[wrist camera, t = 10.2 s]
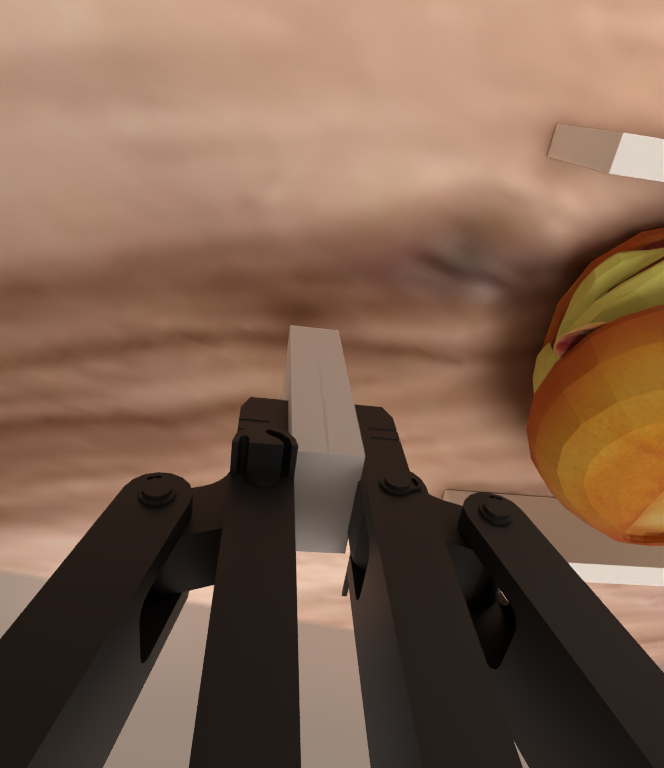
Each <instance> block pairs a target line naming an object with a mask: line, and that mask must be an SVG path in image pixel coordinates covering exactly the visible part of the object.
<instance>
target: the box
mask: <svg viewBox="0 0 664 768" xmlns="http://www.w3.org/2000/svg"><path fill="white" fill-rule="evenodd" d="M547 157H550V158H554V159H557V160H561V161H565V162H568V163H572V164H576V165H580V166H583V167H587V168H591V169H594V170H598V171H602V172H605V173H609V174H615V175H622V176H628V177H635V178H641V179H648V180H654V181H661V182H664V139H660V138H654V137H648V136H642V135H636V134H630V133H624V132H617V131H609V130H602V129H595V128H587V127H580V126H573V125H565V124H558V123H557V125H556V129H555V132H554V135H553V138H552V142H551V145H550V148H549V152H548V155H547ZM474 493H478V492H469V491H455V490H445V492H444V496H443V499H442V500H444V501H448V502H451V503H455V504H458V505H462V506H463V503H464V500H465V499H466V498H467V497H468V496H469V495H471V494H474ZM493 494H496V493H493ZM496 495H500V496H503V497H504V498H506V499H508V500H510V501H512V502H513V503H515V504H516V505H517V506H518V507H519V508H520V509H522V511H523V512H524V513H525V514H526V515H527V516H528V517H529V519H530V520H531V521H532V522H533V523H534V524H535V526H536V527H537V528H538V529H539V530H540V531H541V532H542V534H543V535H544V536H545V537H546V538H547V539H548V540H549V542H550V543H551V544H552V545H553V546H554V547H555V548H556V550H557V551H558V552H559V553H560V554H561V555H562V557H563V558H564V559H565V560H566V561H567V562H568V563H569V565H570V566H571V567H572V568H573V569H574V570H575V571H576V573H577V574H578V575H579V576H580V577H581V578H582V580H583V581H584V582H595V583H614V584H632V585H651V586H664V546H645V545H636V544H629V543H623V542H617V541H615V540H613V539H611V538H609V537H608V536H606V535H605V534H603V533H602V532H600V531H598V530H597V529H595V528H593V527H591V526H590V525H588V524H586V523H585V522H583V521H582V520H581V519H579V518H578V517H576V516H575V515H574V514H572V513H571V512H570V511H568V510H567V509H566V508H564V506H563V505H562V504H561V503H560V502H559V501H558V499H557V498H551V497H537V496H523V495H510V494H496Z"/></svg>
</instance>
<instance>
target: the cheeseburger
mask: <svg viewBox="0 0 664 768" xmlns="http://www.w3.org/2000/svg"><path fill="white" fill-rule="evenodd" d="M533 389H534V397H533V401H532V406H531V410H530V415H529V419H528V424H527V435H528V442H529V448H530V454H531V459H532V461H533V463H534V465H535V466H536V468H537V470H538V472H539V474H540V475H541V477H542V479H543V480H544V482H545V483H546V485H547V486H548V488H549V489H550V491H551V493H552V494H553V495H554V496H555V497H556V498H557V499H558V501H559V502H560V503H561V504H562V505H563V506H564V508H566V509H567V510H568V511H570V512H571V513H572V514H574V515H575V516H576V517H578V518H579V519H581V520H582V521H583V522H585V523H586V524H588V525H590V526H591V527H593V528H595V529H597V530H598V531H600V532H602V533H603V534H605V535H606V536H608V537H609V538H611V539H613V540H615V541H617V542H623V543H629V544H636V545H645V546H664V228H659V229H654V230H648V231H643V232H640V233H639V234H637V235H635V236H634V237H632V238H630V239H629V240H627V241H625V242H623V243H622V244H620V245H618V246H617V247H615V248H613V249H612V250H610V251H608V252H607V253H605V254H603V255H601V256H600V257H598V258H596V259H595V260H593V261H591V263H590V264H589V265H588V266H587V268H586V269H585V270H584V271H583V272H582V274H581V275H580V276H579V277H578V279H577V280H576V281H575V282H574V284H573V285H572V286H571V287H570V288H569V290H568V291H567V292H566V293H565V295H564V296H563V297H562V298H561V300H560V301H559V302H558V304H557V307H556V310H555V312H554V315H553V318H552V321H551V324H550V326H549V329H548V332H547V335H546V337H545V340H544V343H543V349H542V350H541V351H540V353H539V354H538V355H537V359H536V364H535V369H534V374H533Z"/></svg>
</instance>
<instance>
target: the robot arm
mask: <svg viewBox="0 0 664 768" xmlns="http://www.w3.org/2000/svg"><path fill="white" fill-rule="evenodd" d="M348 537H349V545H350V557H349V562H348V566H347V571H346V576H345V580H344V585H343V591H342V596H347V593H348V588H349V592H350V600H351V609H352V617H353V625H354V633H355V642H356V649H357V657H358V666H359V675H360V683H361V691H362V699H363V708H364V716H365V724H366V732H367V740H368V749H369V757H370V765H371V768H523V767H522V764H521V761H520V758H519V755H518V752H517V749H516V747H515V744H514V742H515V743H516V745H517V747H518V749H519V751H520V752H521V754H522V756H523V758H524V759H525V761H526V763H527V765H528V766H529V768H664V673H663V672H662V670H660V668H659V667H658V666H657V665H656V663H655V662H654V661H653V660H652V659H651V658H650V657H649V655H648V654H647V653H646V652H645V651H644V650H643V649H642V647H641V646H640V645H639V644H638V643H637V642H636V640H635V639H634V638H633V637H632V636H631V635H630V634H629V632H628V631H627V630H626V629H625V628H624V627H623V626H622V624H621V623H620V622H619V621H618V620H617V619H616V617H615V616H614V615H613V614H612V613H611V612H610V611H609V609H608V608H607V607H606V606H605V605H604V604H603V603H602V601H601V600H600V599H599V598H598V597H597V596H596V594H595V593H594V592H593V591H592V590H591V589H590V588H589V586H588V585H587V584H586V583H585V582H584V581H583V580H582V578H581V577H580V576H579V575H578V574H577V573H576V571H575V570H574V569H573V568H572V567H571V566H570V565H569V563H568V562H567V561H566V560H565V559H564V558H563V557H562V555H561V554H560V553H559V552H558V551H557V550H556V548H555V547H554V546H553V545H552V544H551V543H550V542H549V540H548V539H547V538H546V537H545V536H544V535H543V534H542V532H541V531H540V530H539V529H538V528H537V527H536V526H535V524H534V523H533V522H532V521H531V520H530V519H529V517H528V516H527V515H526V514H525V513H524V512H523V511H522V509H520V508H519V507H518V506H517V505H516V504H515V503H513V502H512V501H510V500H508V499H506V498H504V497H503V496H500V495H496V494H493V493H486V492H478V493H474V494H471V495H469V496H468V497H467V498H466V499H465V500H464V503H463V506H462V505H458V504H455V503H451V502H448V501H444V500H442V499H439V498H436V497H434V496H432V495H430V494H428V491H427V488H426V486H425V484H424V483H423V481H422V480H421V479H420V478H419V477H418V476H416V475H415V474H414V473H412V472H410V470H409V467H408V464H407V461H406V458H405V455H404V452H403V449H402V445H401V442H400V441H399V436H398V433H397V432H396V427H395V424H394V420H393V418H392V417H391V416H390V415H389V414H388V413H387V412H386V411H385V410H384V409H383V408H382V407H375V406H364V405H354V401H353V396H352V392H351V387H350V382H349V377H348V373H347V368H346V363H345V359H344V354H343V349H342V344H341V340H340V335H339V330H333V329H323V328H314V327H304V326H295V325H290V331H289V340H288V349H287V357H286V366H285V375H284V384H283V392H282V400H278V399H266V398H255V397H250V398H249V399H248V400H247V401H246V402H245V403H244V404H243V405H242V406H241V410H240V417H239V424H238V431H237V434H236V435H235V437H234V439H233V441H232V451H231V465H230V472H229V473H228V474H227V476H225V477H224V478H223V479H221V480H220V481H217V482H215V483H213V484H210V485H206V486H201V487H195V488H191V486H190V484H189V483H188V482H187V481H186V480H185V479H183V478H182V477H179V476H177V475H174V474H171V473H160V472H157V473H150V474H144V475H142V476H140V477H137V478H135V479H133V480H131V481H130V482H129V483H128V484H127V485H125V486H124V487H123V489H122V490H121V491H120V492H119V494H118V495H117V496H116V497H115V498H114V500H113V501H112V502H111V503H110V505H109V506H108V507H107V508H106V510H105V511H104V512H103V513H102V514H101V516H100V517H99V518H98V519H97V521H96V522H95V523H94V524H93V526H92V527H91V528H90V529H89V530H88V532H87V533H86V534H85V535H84V537H83V538H82V539H81V540H80V542H79V543H78V544H77V545H76V546H75V548H74V549H73V550H72V551H71V553H70V554H69V555H68V556H67V558H66V559H65V560H64V561H63V562H62V564H61V565H60V566H59V567H58V569H57V570H56V571H55V572H54V574H53V575H52V576H51V577H50V578H49V580H48V581H47V582H46V583H45V585H44V586H43V587H42V588H41V590H40V591H39V592H38V593H37V595H36V596H35V597H34V598H33V599H32V601H31V602H30V603H29V604H28V606H27V607H26V608H25V609H24V611H23V612H22V613H21V614H20V616H19V617H18V618H17V619H16V621H15V622H14V623H13V624H12V625H11V627H10V628H9V629H8V630H7V631H6V633H5V634H4V635H3V636H2V638H1V639H0V768H103V766H104V764H105V762H106V760H107V758H108V756H109V754H110V752H111V750H112V748H113V746H114V744H115V742H116V740H117V738H118V736H119V734H120V732H121V730H122V728H123V726H124V724H125V722H126V720H127V718H128V716H129V714H130V712H131V710H132V708H133V706H134V704H135V702H136V700H137V698H138V696H139V694H140V692H141V690H142V688H143V685H144V684H145V682H146V680H147V678H148V676H149V674H150V672H151V670H152V668H153V666H154V664H155V662H156V660H157V658H158V656H159V654H160V652H161V650H162V648H163V646H164V644H165V642H166V640H167V637H168V636H169V634H170V632H171V630H172V628H173V626H174V623H175V622H176V620H177V618H178V616H179V614H180V612H181V610H182V608H183V606H184V604H185V602H186V600H187V598H188V594H189V591H190V590H194V589H198V588H202V587H206V586H211V585H214V592H213V599H212V606H211V614H210V620H209V628H208V635H207V641H206V649H205V656H204V663H203V670H202V677H201V685H200V691H199V699H198V706H197V713H196V720H195V728H194V734H193V741H192V749H191V756H190V763H189V768H301V750H300V710H299V709H300V708H299V666H298V624H297V583H296V551H305V552H326V553H345V551H346V546H347V541H348ZM500 591H502V593H503V594H504V596H505V597H506V599H507V600H508V601H507V600H506V599H505V597H504V596H503V595H502V593H501V592H500ZM513 740H514V741H513Z"/></svg>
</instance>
